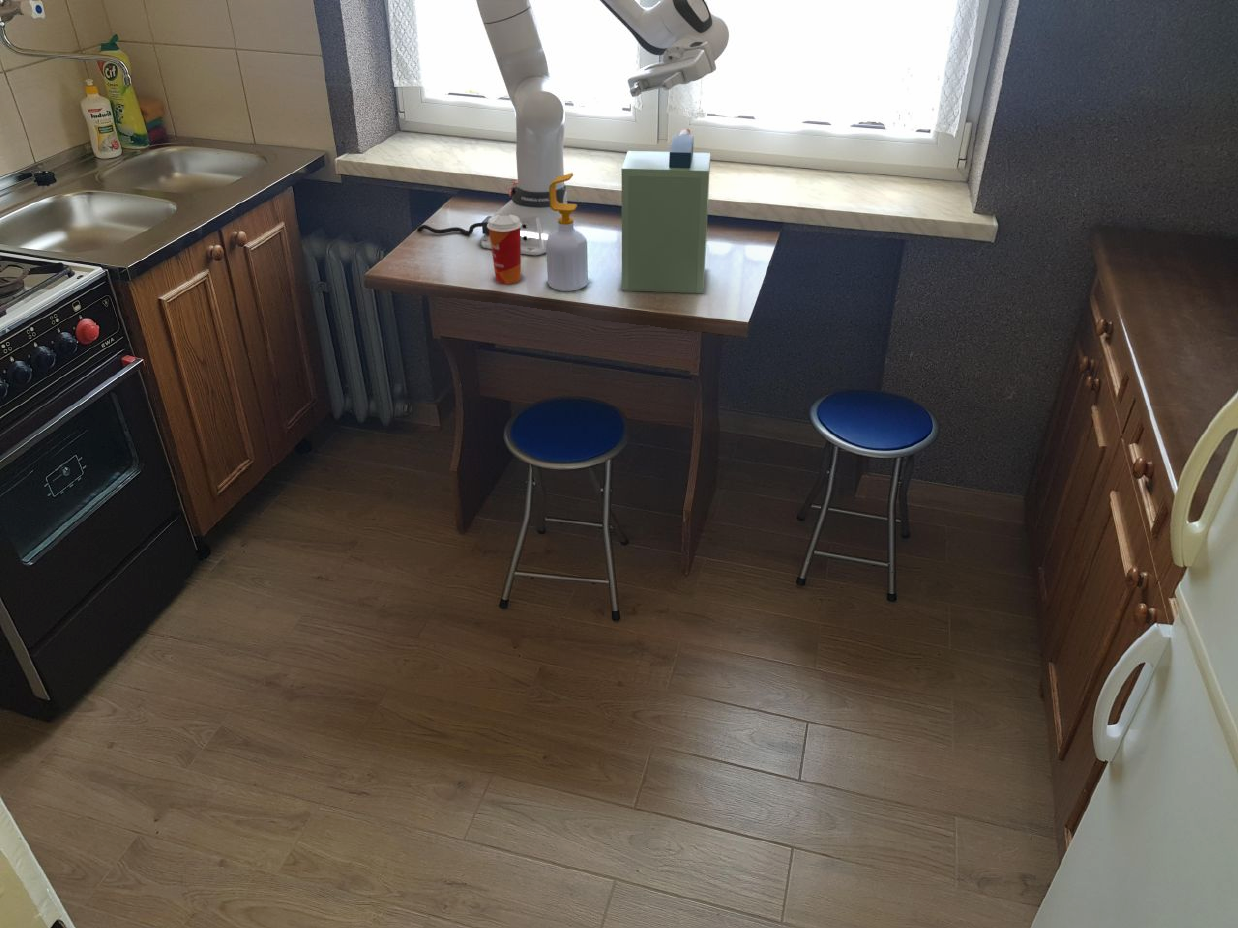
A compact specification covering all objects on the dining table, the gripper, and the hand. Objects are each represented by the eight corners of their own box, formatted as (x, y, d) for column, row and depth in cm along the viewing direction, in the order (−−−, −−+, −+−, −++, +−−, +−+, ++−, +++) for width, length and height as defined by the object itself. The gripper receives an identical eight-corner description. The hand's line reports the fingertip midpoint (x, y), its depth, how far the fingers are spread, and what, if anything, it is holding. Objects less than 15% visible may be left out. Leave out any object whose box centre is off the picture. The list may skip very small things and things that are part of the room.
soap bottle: (583, 293, 211) (580, 182, 197) (543, 290, 213) (537, 180, 199) (592, 277, 218) (589, 170, 205) (553, 274, 220) (548, 167, 206)
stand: (627, 267, 223) (627, 150, 208) (704, 270, 221) (710, 153, 206) (621, 290, 212) (621, 168, 197) (702, 293, 211) (708, 171, 196)
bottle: (675, 140, 215) (675, 126, 213) (694, 141, 214) (695, 126, 212) (669, 167, 198) (669, 152, 196) (690, 168, 197) (691, 152, 195)
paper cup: (492, 273, 221) (486, 214, 213) (525, 272, 221) (521, 213, 213) (491, 286, 214) (485, 226, 206) (525, 285, 215) (521, 225, 207)
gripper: (643, 57, 222) (609, 84, 215) (712, 40, 209) (679, 68, 202) (653, 83, 226) (620, 110, 219) (722, 68, 212) (689, 96, 205)
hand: (649, 90), depth 210 cm, fingers open, 8 cm apart
